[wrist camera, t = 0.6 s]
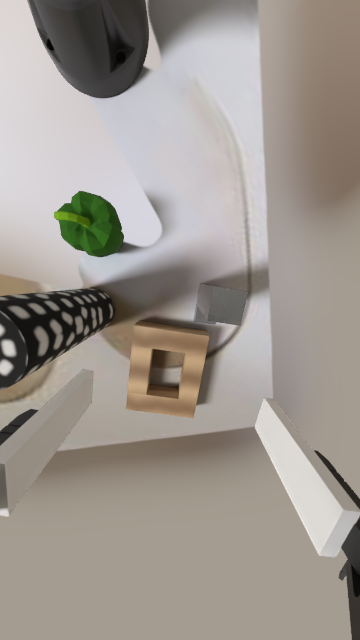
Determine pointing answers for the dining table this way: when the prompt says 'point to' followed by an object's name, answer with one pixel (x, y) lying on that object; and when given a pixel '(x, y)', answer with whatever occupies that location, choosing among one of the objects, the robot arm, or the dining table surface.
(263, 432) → the robot arm
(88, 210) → the bell pepper
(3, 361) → the white-spotted black cylinder
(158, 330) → the wooden rectangular frame
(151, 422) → the dining table surface
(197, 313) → the bracket
